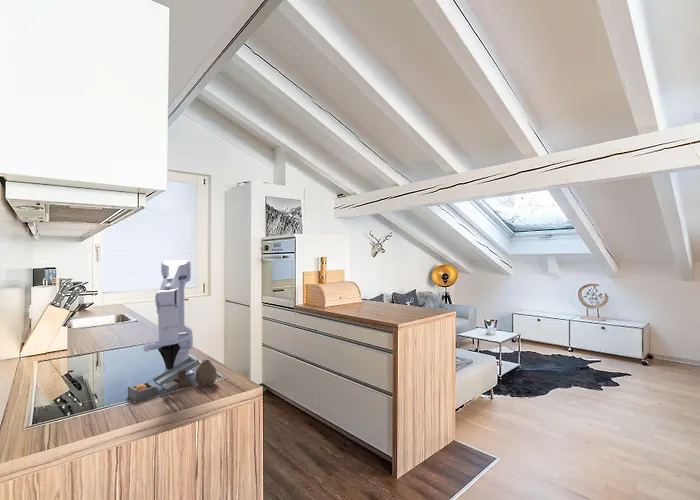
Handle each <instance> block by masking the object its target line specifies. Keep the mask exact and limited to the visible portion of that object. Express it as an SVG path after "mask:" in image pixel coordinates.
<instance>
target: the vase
mask: <svg viewBox="0 0 700 500" xmlns="http://www.w3.org/2000/svg"><path fill="white" fill-rule="evenodd" d="M217 376H218V374H217V369H216V367H215V365H213V363H212V362H211V361H210V359H203V360H201V362H200V364H199V365H198V368H197V369H196V371H195V382H196V384H197V385H198V387H200V388H202V387H206V388H210V387H211V386H213V385H214V384H215V382H216V380H217Z"/></svg>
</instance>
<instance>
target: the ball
mask: <svg viewBox="0 0 700 500" xmlns="http://www.w3.org/2000/svg"><path fill="white" fill-rule="evenodd" d="M137 385H138V386H136V385H135V386H136V388H135V389H137V390H138V391H140V390H144V389H147V387H146V385H144V384H143V383H140V384H137Z"/></svg>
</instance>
